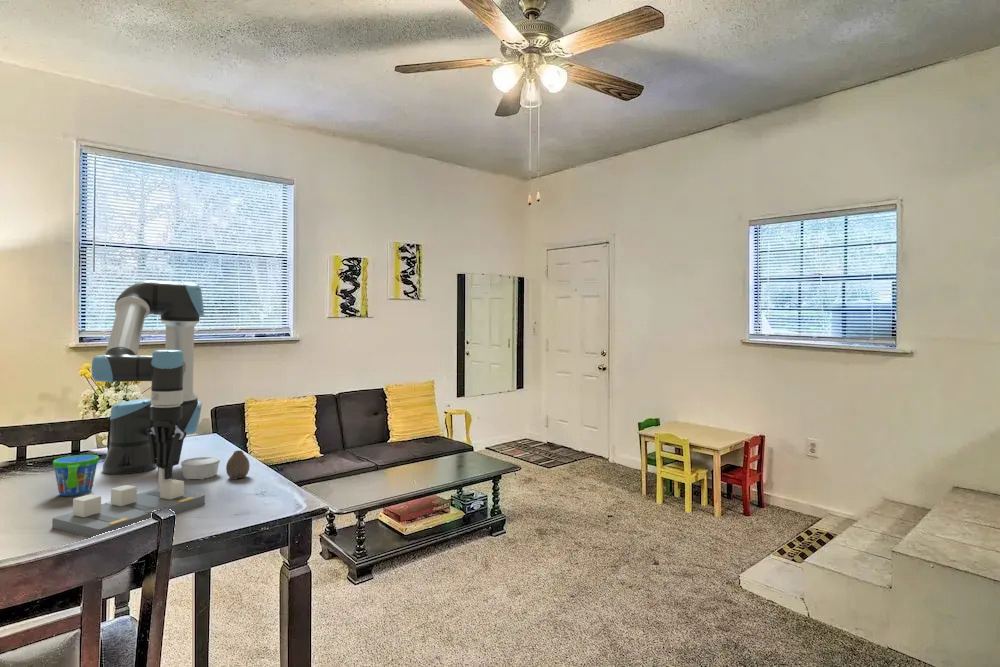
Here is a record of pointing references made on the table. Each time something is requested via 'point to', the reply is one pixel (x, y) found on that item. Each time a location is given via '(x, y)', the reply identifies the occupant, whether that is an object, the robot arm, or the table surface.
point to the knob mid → (123, 495)
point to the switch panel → (125, 513)
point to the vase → (237, 465)
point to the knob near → (86, 505)
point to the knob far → (171, 489)
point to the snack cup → (75, 474)
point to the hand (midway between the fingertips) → (164, 490)
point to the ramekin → (200, 467)
